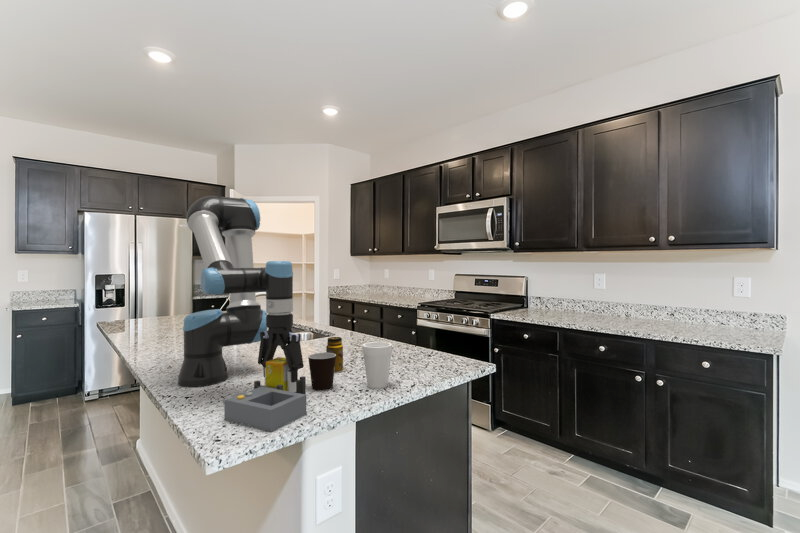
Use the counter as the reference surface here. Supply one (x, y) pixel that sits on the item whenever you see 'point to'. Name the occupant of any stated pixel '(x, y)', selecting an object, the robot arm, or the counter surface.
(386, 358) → the foam cup
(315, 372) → the coffee mug
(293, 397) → the port
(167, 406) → the counter surface
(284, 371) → the supplement box
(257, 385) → the dark grey rack
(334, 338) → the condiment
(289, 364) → the robot arm
